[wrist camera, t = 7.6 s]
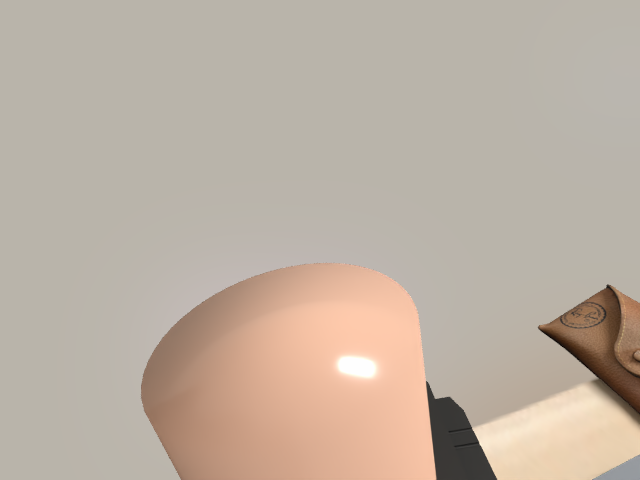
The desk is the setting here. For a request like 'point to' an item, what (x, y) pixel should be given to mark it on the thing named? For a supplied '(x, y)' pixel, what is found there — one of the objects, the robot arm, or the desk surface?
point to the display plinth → (623, 471)
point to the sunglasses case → (604, 340)
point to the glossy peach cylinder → (295, 381)
